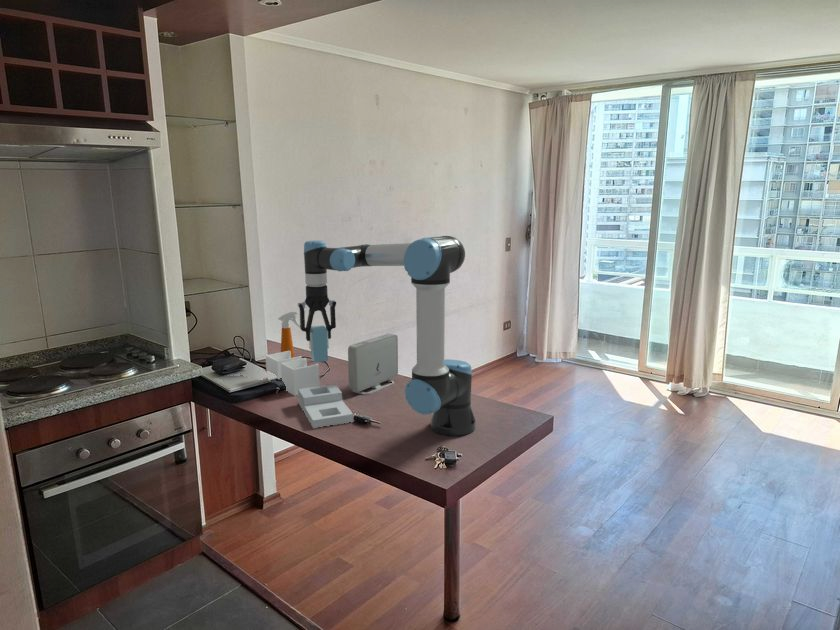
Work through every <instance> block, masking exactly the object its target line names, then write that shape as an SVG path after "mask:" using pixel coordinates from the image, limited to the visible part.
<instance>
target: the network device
mask: <svg viewBox="0 0 840 630" xmlns="http://www.w3.org/2000/svg"><path fill="white" fill-rule="evenodd" d="M398 340H399V339H398V335H397V334H395V333H394V334H392V333H386V334H383V335H379V336H375V337H372V338H369V339H366V340H363V341H359V342H357V343H352V344H350V345H348V349H347V363H348V364H347V365H348V367H347V368H348V388H349V390H351V391H352V392H353V393H355V394H359V395H361V394H362V396H367V395H368V396H369V395H372V394H375V393H377V392H379V391H381V389H382V390H384V389H387V388H389V387H391V386H393V385H394V384H395V381H394V380H392V379H394V378H396V377H397V376H398V374H399V356H398V355H399V353H398V352H399V349H398V347H399V346H398V345H399V343H398V342H399V341H398ZM386 381H388V382H387V383H388V384H386V385H381V383H384V382H386ZM390 382H392V383H390ZM392 384H393V385H392ZM390 385H391V386H390ZM388 386H389V387H388ZM370 387H371V388H370ZM386 387H387V388H386ZM369 388H370V389H372V390H370V391H368V392H364V391H363V390H366V389H369ZM373 388H374V389H373ZM383 388H384V389H383ZM376 391H377V392H376ZM374 392H375V393H374Z"/></svg>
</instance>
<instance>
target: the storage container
mask: <svg viewBox="0 0 840 630" xmlns="http://www.w3.org/2000/svg"><path fill="white" fill-rule="evenodd" d="M265 367H266V368H265V369H266V370H268V371H270V372H271V373H273V374H275V375H276V376H277V377H278V378H282V381H283V382H284V384H285V386H286V392H287V391H288V393H289V394H291V395H292V394H293V395H292V396H294V395H295V396H294V397H297V396H299V395H298V389H303V388H310V387H317V386H321V385H320V364H319V363H315V364H311V365H308V360H307V357H304V358H303V356H302V355H299V356H296V357H295V358H291V351H285V352H281V351H279V352H276V353H270V354H266V355H265ZM296 395H297V396H296Z"/></svg>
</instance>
